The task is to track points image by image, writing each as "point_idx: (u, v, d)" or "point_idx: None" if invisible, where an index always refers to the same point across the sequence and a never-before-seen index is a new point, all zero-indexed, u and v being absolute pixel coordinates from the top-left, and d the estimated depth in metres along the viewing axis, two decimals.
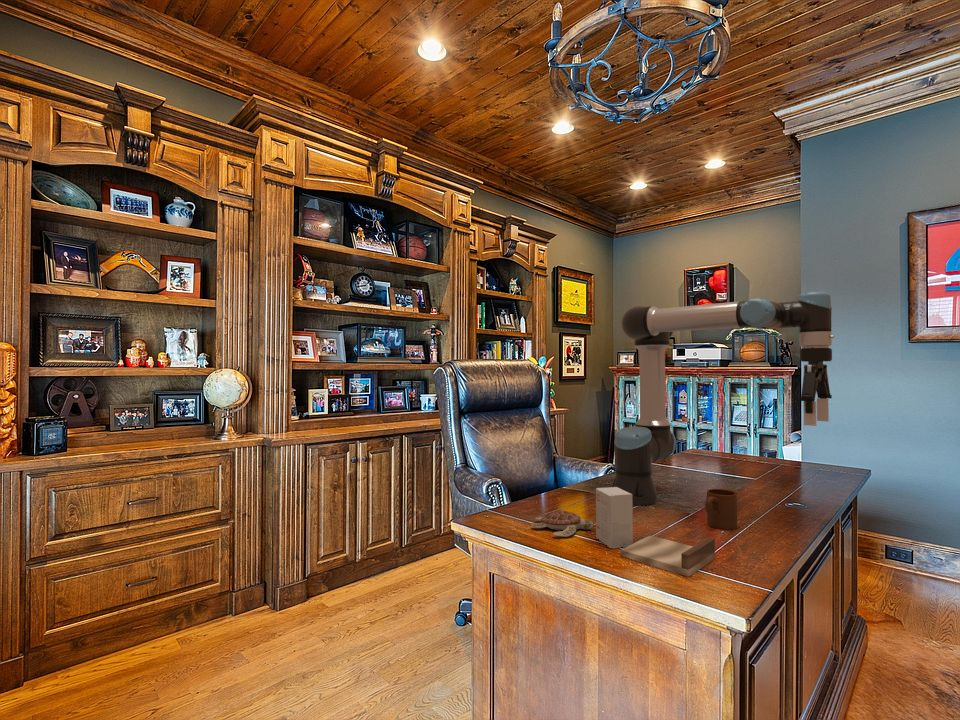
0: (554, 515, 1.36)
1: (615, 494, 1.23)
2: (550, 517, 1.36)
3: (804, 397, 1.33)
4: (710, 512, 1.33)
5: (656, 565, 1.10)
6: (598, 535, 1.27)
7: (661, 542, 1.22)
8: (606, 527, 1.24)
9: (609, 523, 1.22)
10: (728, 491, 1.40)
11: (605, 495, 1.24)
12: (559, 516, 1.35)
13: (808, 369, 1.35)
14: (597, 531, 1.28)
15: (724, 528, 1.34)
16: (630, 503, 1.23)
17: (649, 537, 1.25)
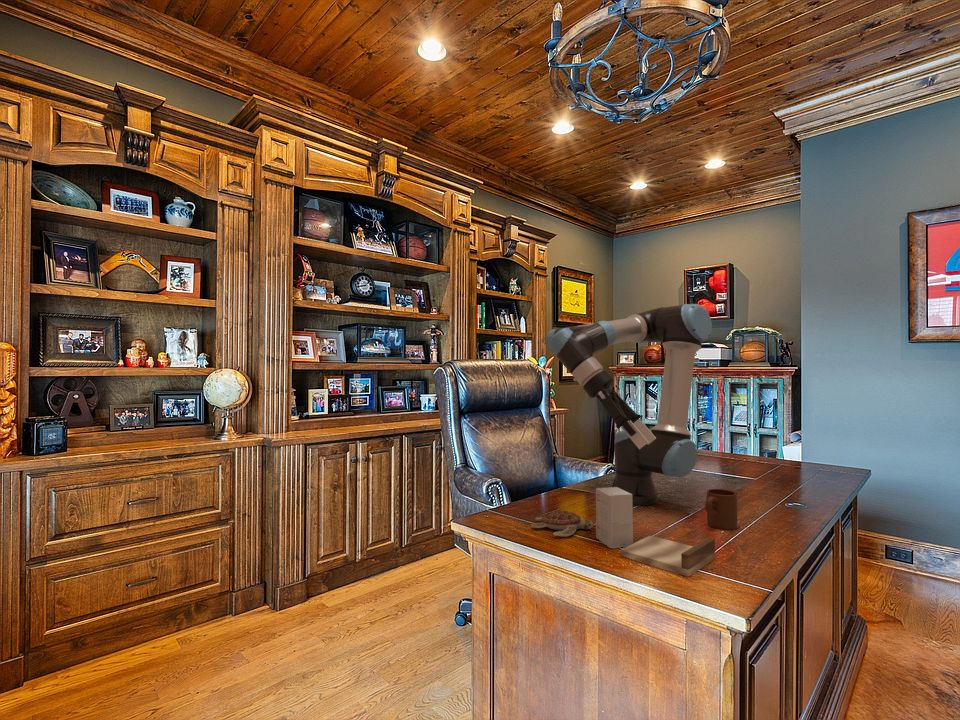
0: (554, 515, 1.36)
1: (615, 494, 1.23)
2: (550, 517, 1.36)
3: None
4: (710, 512, 1.33)
5: (656, 565, 1.10)
6: (598, 535, 1.27)
7: (661, 542, 1.22)
8: (606, 527, 1.24)
9: (609, 523, 1.22)
10: (728, 491, 1.40)
11: (605, 495, 1.24)
12: (559, 516, 1.35)
13: None
14: (597, 531, 1.28)
15: (724, 528, 1.34)
16: (630, 503, 1.23)
17: (649, 537, 1.25)
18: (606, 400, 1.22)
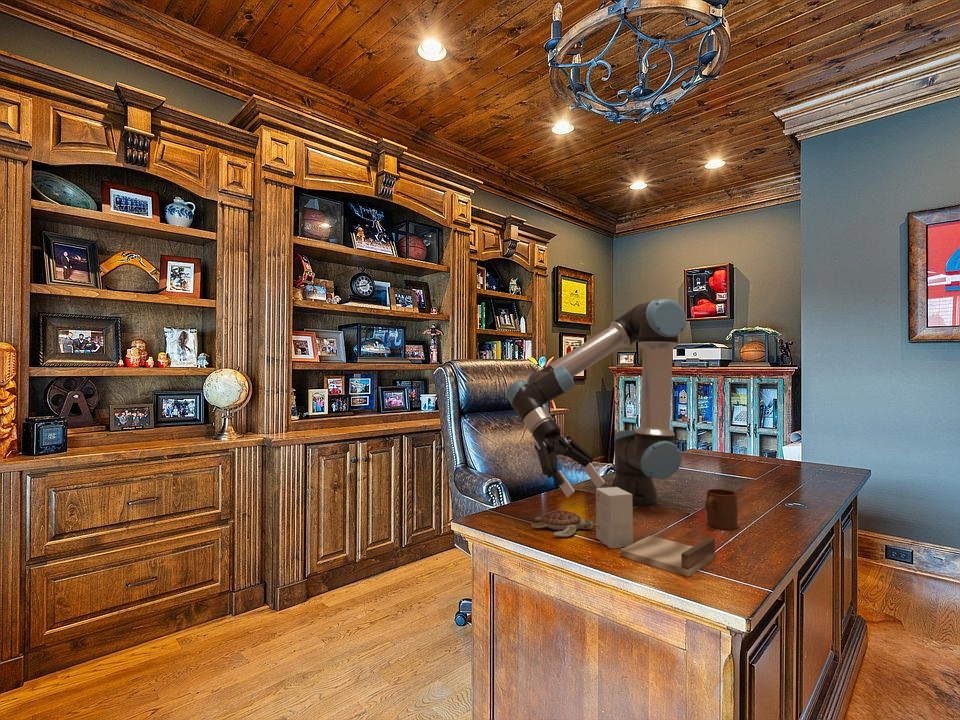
0: (554, 515, 1.36)
1: (615, 494, 1.23)
2: (550, 517, 1.36)
3: None
4: (710, 512, 1.33)
5: (656, 565, 1.10)
6: (598, 535, 1.27)
7: (661, 542, 1.22)
8: (606, 527, 1.24)
9: (609, 523, 1.22)
10: (728, 491, 1.40)
11: (605, 495, 1.24)
12: (559, 516, 1.35)
13: None
14: (597, 531, 1.28)
15: (724, 528, 1.34)
16: (630, 503, 1.23)
17: (649, 537, 1.25)
18: (540, 451, 1.33)
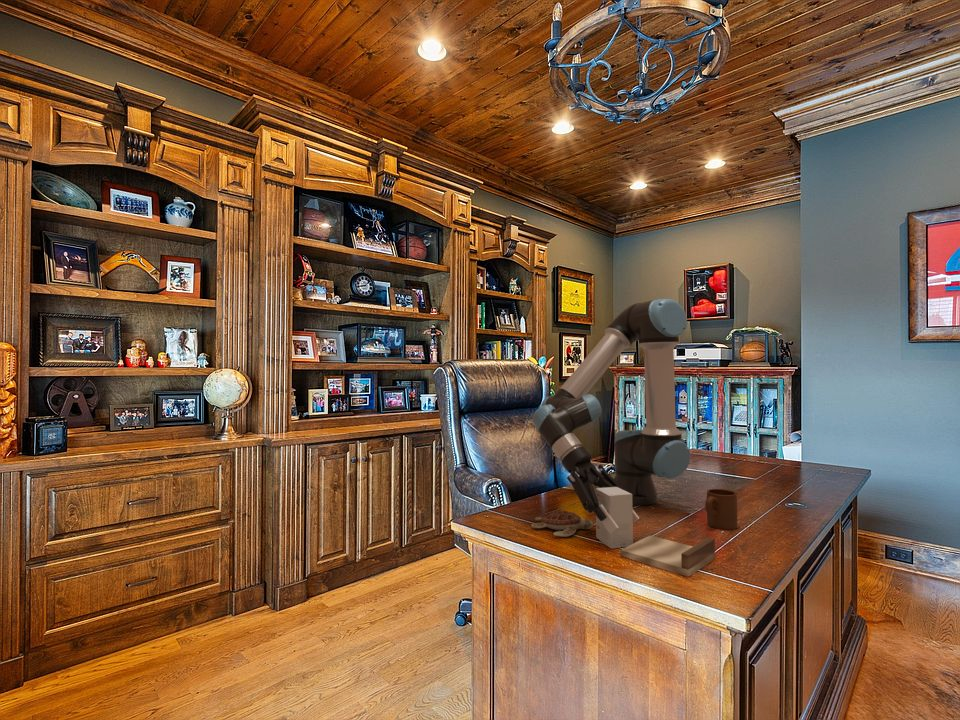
0: (554, 515, 1.36)
1: (615, 494, 1.23)
2: (550, 517, 1.36)
3: None
4: (710, 512, 1.33)
5: (656, 565, 1.10)
6: (598, 535, 1.27)
7: (661, 542, 1.22)
8: None
9: None
10: (728, 491, 1.40)
11: (605, 495, 1.24)
12: (559, 516, 1.35)
13: None
14: (597, 531, 1.28)
15: (724, 528, 1.34)
16: (630, 503, 1.23)
17: (649, 537, 1.25)
18: (576, 483, 1.26)
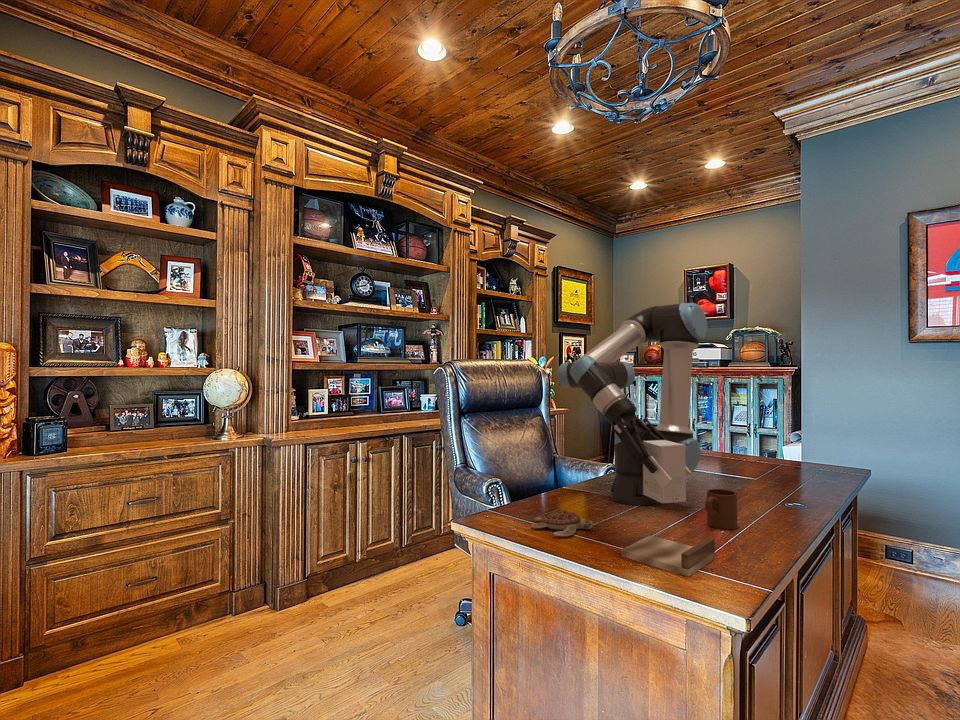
0: (554, 515, 1.36)
1: (666, 445, 1.13)
2: (550, 517, 1.36)
3: None
4: (710, 512, 1.33)
5: (656, 565, 1.10)
6: (646, 491, 1.18)
7: (661, 542, 1.22)
8: (656, 481, 1.14)
9: None
10: (728, 491, 1.40)
11: (655, 446, 1.14)
12: (559, 516, 1.35)
13: None
14: (645, 487, 1.19)
15: (724, 528, 1.34)
16: (683, 454, 1.13)
17: (649, 537, 1.25)
18: (623, 434, 1.17)
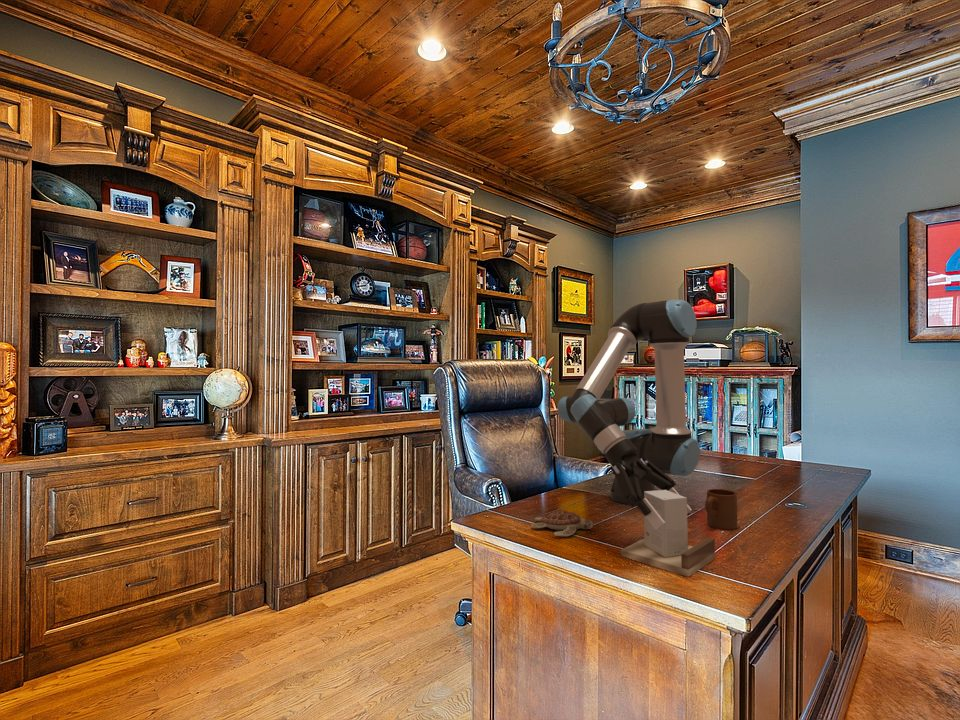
0: (554, 515, 1.36)
1: (669, 498, 1.13)
2: (550, 517, 1.36)
3: None
4: (710, 512, 1.33)
5: (656, 565, 1.10)
6: (648, 542, 1.18)
7: None
8: (658, 534, 1.14)
9: (663, 530, 1.12)
10: (728, 491, 1.40)
11: (657, 499, 1.14)
12: (559, 516, 1.35)
13: None
14: (646, 538, 1.19)
15: (724, 528, 1.34)
16: (685, 507, 1.13)
17: None
18: (620, 475, 1.17)
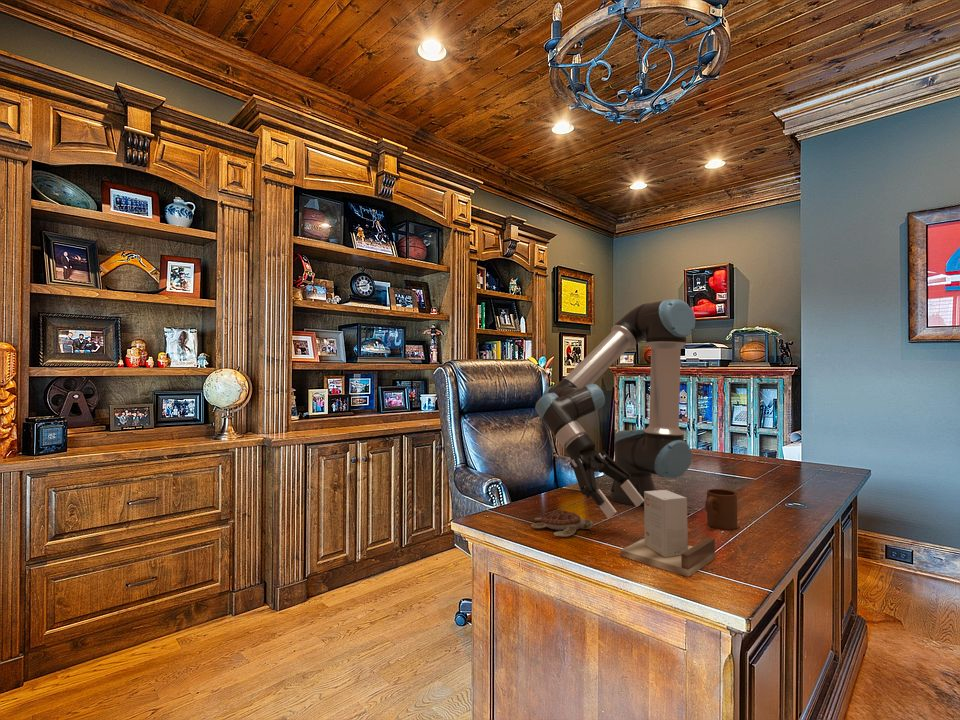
0: (554, 515, 1.36)
1: (669, 498, 1.13)
2: (550, 517, 1.36)
3: None
4: (710, 512, 1.33)
5: (656, 565, 1.10)
6: (648, 542, 1.18)
7: None
8: (658, 534, 1.14)
9: (663, 530, 1.12)
10: (728, 491, 1.40)
11: (657, 499, 1.14)
12: (559, 516, 1.35)
13: None
14: (646, 538, 1.19)
15: (724, 528, 1.34)
16: (685, 507, 1.13)
17: None
18: (577, 468, 1.25)
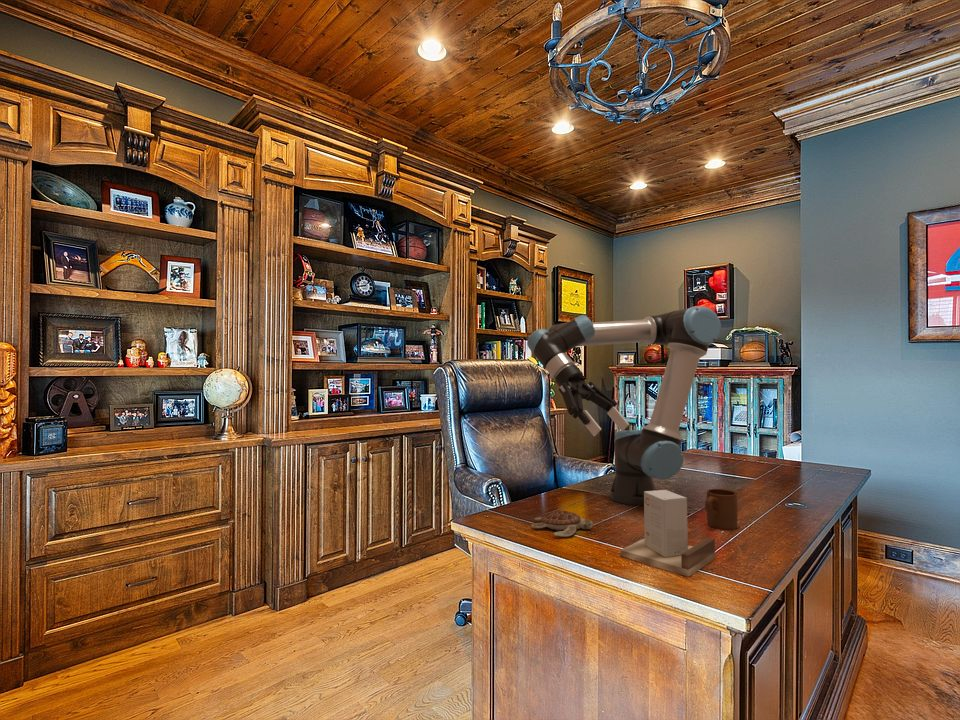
0: (554, 515, 1.36)
1: (669, 498, 1.13)
2: (550, 517, 1.36)
3: None
4: (710, 512, 1.33)
5: (656, 565, 1.10)
6: (648, 542, 1.18)
7: None
8: (658, 534, 1.14)
9: (663, 530, 1.12)
10: (728, 491, 1.40)
11: (657, 499, 1.14)
12: (559, 516, 1.35)
13: None
14: (646, 538, 1.19)
15: (724, 528, 1.34)
16: (685, 507, 1.13)
17: None
18: (565, 393, 1.33)
